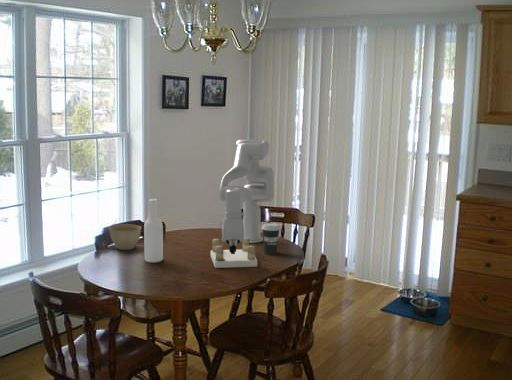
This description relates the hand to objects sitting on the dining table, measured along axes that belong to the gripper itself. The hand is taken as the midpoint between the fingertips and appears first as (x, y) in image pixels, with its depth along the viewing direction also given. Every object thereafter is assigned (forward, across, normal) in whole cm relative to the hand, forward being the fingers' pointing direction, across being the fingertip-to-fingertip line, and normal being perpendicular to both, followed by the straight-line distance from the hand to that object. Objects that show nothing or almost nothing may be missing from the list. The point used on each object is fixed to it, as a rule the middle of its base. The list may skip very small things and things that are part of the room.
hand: (232, 253), depth 277 cm
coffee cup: (+6, -22, -20) cm, 30 cm away
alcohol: (+6, +37, -13) cm, 40 cm away
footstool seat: (+6, -1, -8) cm, 10 cm away
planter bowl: (+6, +51, -38) cm, 64 cm away
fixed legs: (+3, -1, -8) cm, 8 cm away
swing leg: (+3, +6, -3) cm, 8 cm away
